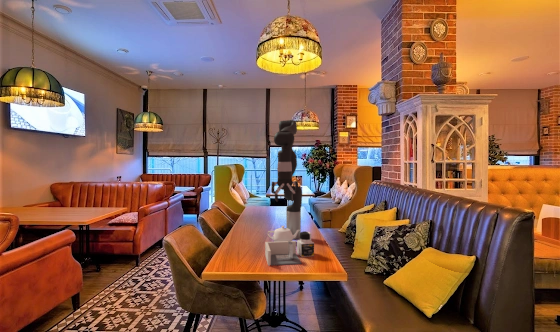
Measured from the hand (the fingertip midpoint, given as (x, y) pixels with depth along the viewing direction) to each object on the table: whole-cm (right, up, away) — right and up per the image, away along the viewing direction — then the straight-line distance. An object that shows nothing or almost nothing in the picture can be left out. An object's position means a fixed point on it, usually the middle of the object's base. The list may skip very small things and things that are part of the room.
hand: (285, 200), depth 155 cm
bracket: (-1, -28, -7) cm, 29 cm away
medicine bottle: (+11, -29, +1) cm, 31 cm away
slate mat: (-1, -29, -7) cm, 30 cm away
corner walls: (-1, -29, -7) cm, 30 cm away
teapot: (0, -28, +24) cm, 37 cm away
